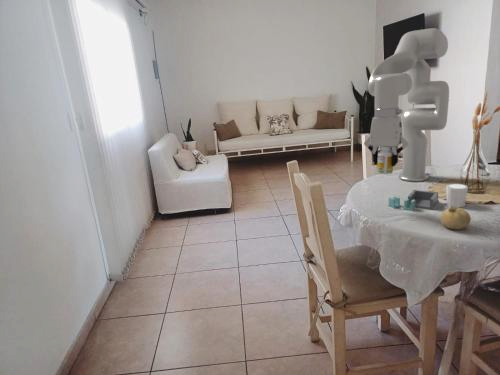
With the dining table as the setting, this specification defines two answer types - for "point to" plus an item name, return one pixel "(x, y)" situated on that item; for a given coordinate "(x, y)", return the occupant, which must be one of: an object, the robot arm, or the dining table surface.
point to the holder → (424, 199)
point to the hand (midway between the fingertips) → (385, 164)
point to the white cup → (456, 194)
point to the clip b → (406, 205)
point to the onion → (455, 218)
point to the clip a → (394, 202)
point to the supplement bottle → (384, 160)
